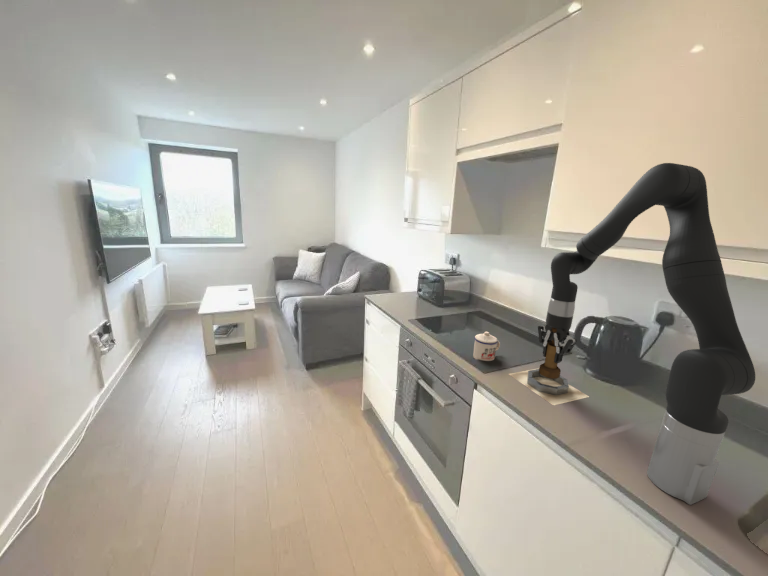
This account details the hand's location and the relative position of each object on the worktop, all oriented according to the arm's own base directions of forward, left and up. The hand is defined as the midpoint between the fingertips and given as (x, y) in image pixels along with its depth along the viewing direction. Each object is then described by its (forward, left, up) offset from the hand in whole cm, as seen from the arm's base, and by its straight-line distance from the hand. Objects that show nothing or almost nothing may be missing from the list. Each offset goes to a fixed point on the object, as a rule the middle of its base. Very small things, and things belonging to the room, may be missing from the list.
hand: (551, 359), depth 105 cm
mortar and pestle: (0, 0, -6) cm, 6 cm away
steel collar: (0, 0, -10) cm, 10 cm away
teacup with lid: (+25, +6, -11) cm, 28 cm away
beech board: (0, 0, -11) cm, 11 cm away
